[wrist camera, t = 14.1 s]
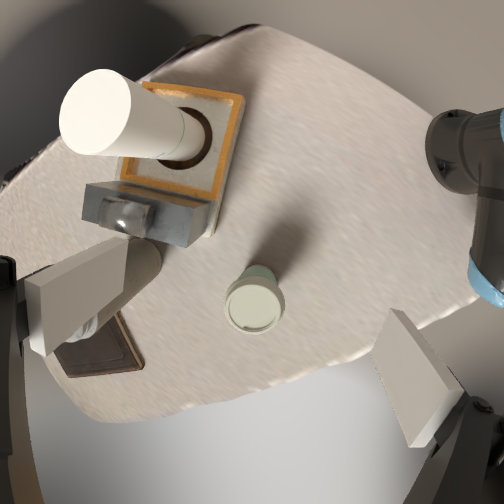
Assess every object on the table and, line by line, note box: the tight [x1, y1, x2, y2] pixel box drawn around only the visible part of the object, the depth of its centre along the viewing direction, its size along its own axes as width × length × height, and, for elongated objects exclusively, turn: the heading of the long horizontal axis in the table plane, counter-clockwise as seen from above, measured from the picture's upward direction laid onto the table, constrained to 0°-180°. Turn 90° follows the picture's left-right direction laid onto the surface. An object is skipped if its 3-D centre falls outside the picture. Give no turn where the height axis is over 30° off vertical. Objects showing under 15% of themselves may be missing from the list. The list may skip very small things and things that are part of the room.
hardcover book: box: [53, 313, 144, 378], centre depth 59 cm, size 16×23×2 cm
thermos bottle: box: [57, 238, 162, 348], centre depth 40 cm, size 8×8×28 cm
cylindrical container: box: [59, 69, 205, 161], centre depth 32 cm, size 7×7×25 cm
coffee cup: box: [223, 264, 285, 335], centre depth 47 cm, size 9×9×12 cm
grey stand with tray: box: [82, 81, 246, 248], centre depth 40 cm, size 18×22×18 cm
